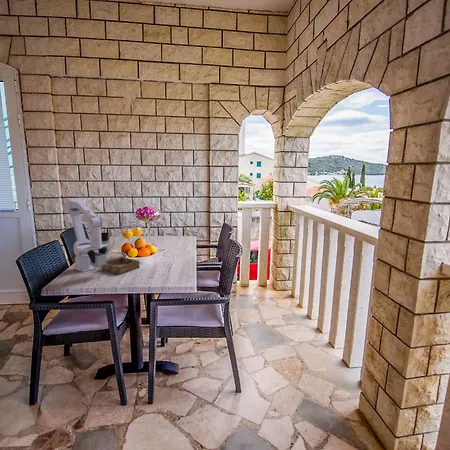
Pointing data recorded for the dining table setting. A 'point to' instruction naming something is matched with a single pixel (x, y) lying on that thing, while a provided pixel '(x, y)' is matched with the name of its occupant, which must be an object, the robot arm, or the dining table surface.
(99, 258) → the box
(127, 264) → the big crate
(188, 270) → the dining table surface
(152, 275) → the dining table surface
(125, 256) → the flower pot
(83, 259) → the robot arm
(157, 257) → the dining table surface
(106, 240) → the grey jug
